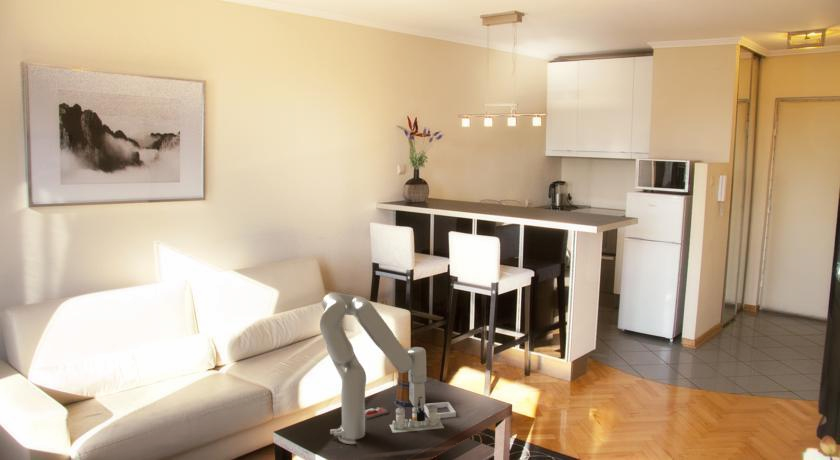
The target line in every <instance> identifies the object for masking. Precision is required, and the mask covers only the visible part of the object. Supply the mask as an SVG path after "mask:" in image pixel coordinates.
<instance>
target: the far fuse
mask: <svg viewBox="0 0 840 460" xmlns="http://www.w3.org/2000/svg"><path fill="white" fill-rule="evenodd" d="M428 411H429V418H428V425H429V426H431V427H435V426H437V413H438V408H437V406H436V405H430V406H428Z"/></svg>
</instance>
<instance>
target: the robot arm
mask: <svg viewBox="0 0 840 460" xmlns="http://www.w3.org/2000/svg"><path fill="white" fill-rule="evenodd" d="M322 309H323V310H324V311H323V313H322V315H321V317H320V321H319V329H320V333H321V336H322V337H323V340H324V342H325V344H326V350H327V353H328V355H329V357H330V358H331V360H332V363H333V365H334V367H335V370H336V371H337V373H338V375H339V377H340V379H341V393H340V394H341V396H340V397H341V401H340V402H341V425H339V427H338V428H332V429H330V430H329V434H330V435H333V436H334V437H336V436H337V440H338V441H339V442H341V443H343V444H345V445H346V444H348V445H357V442H356V440H359V439H361V438H364V437H365V435H366V419H365V410H366V383H367V374H366V371H365V368H364V367H363V366H362V363H360V361H359V359H358V358H357V356H356V354H355V352H354V347H353V345H352V343H351V341H350V340H349V339H348V336H347V334H346V331H345V330H344V327H343V324H342V322H343V319H344V318H345V316H346V315H347V316H353V317H354V318H355V320H357V322H358V323H359V324H360V326H361V327H362V328H363V330H364V331H365V333H366V334H367V335H368V337H369V338H370V339H371V341H372V342H373V343H374V344H375V346H377V348H379V350H381V351H382V352H383V354H384V355H385V356H386V358H387V359H388V360H389V363H390V364H391V365H392V367H394V368H395V370H396V371H397V372H398V371H399V372H402V373H405V372H408V380H409V382H410V386H409V399H410V401H411V403H412V408H413V407H415V406H417V411H418V412H417V421H418V422H419V421H425V418H426V416H425V415H426V413H425V411H424V405H425V404H426V392H425V391H426V389H425V388H426V387H425V383H426V382H427V351H426V349H425V347H419V346H414V347H410V348H408V347H404V346H403V345H402V344H401V343H400V341H399V340H398V338H397V337H396V336H395V334H394V332H393V331H392V330H391V328H390V327H389V326H388V324H387V323H386V321H385V320H384V319H383V317H382V316H381V314H380V313H379V312H378V311H377V309H376V308H375V307H374V305H373V304H372V303H371V302H370V301H369V300H368V298H366V297H363V296H359V295H352V294H347V293H346V294H345V293H340V292H330V293H327V294H326V295H324V297H323V298H322ZM419 404H420V405H419ZM419 407H420V408H419ZM412 408H411V409H412Z"/></svg>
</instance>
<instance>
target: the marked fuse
mask: <svg viewBox="0 0 840 460" xmlns="http://www.w3.org/2000/svg"><path fill="white" fill-rule="evenodd" d="M419 408H420V407H419ZM411 412H412V416H411V417H412V418H411V420H412V427H413V428H420V427H421V421H419V422H418V421H417V412H418V411H417V406H415V407H413V408H411Z"/></svg>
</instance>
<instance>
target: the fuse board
mask: <svg viewBox="0 0 840 460" xmlns="http://www.w3.org/2000/svg"><path fill="white" fill-rule="evenodd" d="M441 419H442V418H440V417H437V426H435V427H431V426H429V425H428V421H429V418H428V417H425V421H421V427H420V428H413V427H412V418H408V419H407V418H405V429H403V430H398V429H396V419H394V420H392V424H389V427H390V429H391V432H392V434H394V433H405V432H415V431H426V430H436V429H445V427H444V425H443V423H442V422H441Z"/></svg>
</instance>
